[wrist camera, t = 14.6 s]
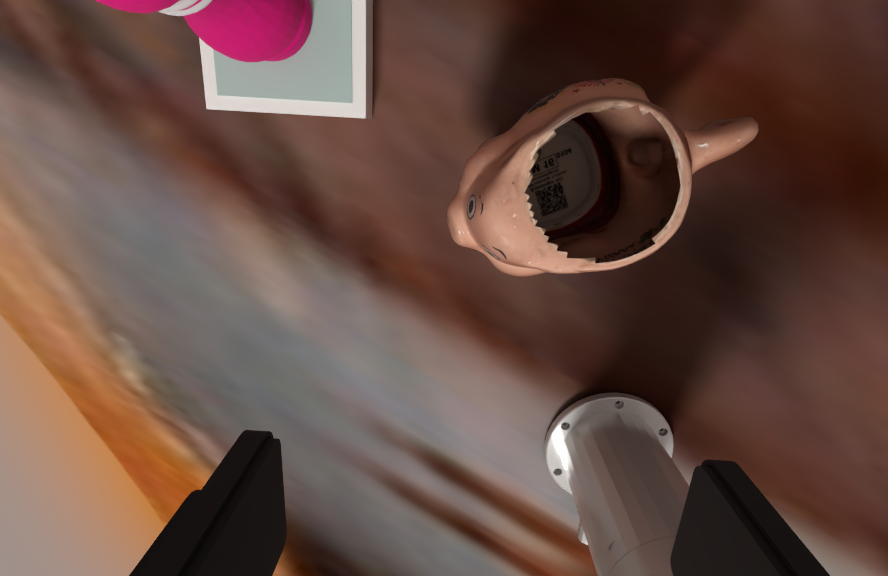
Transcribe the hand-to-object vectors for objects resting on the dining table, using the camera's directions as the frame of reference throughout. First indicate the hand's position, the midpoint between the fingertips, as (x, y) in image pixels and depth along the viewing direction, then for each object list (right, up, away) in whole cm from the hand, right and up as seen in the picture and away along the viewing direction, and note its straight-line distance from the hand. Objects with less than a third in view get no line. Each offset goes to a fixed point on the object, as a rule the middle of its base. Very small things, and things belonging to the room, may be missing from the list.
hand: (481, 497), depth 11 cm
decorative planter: (+9, +15, +29) cm, 34 cm away
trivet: (-12, +24, +26) cm, 38 cm away
